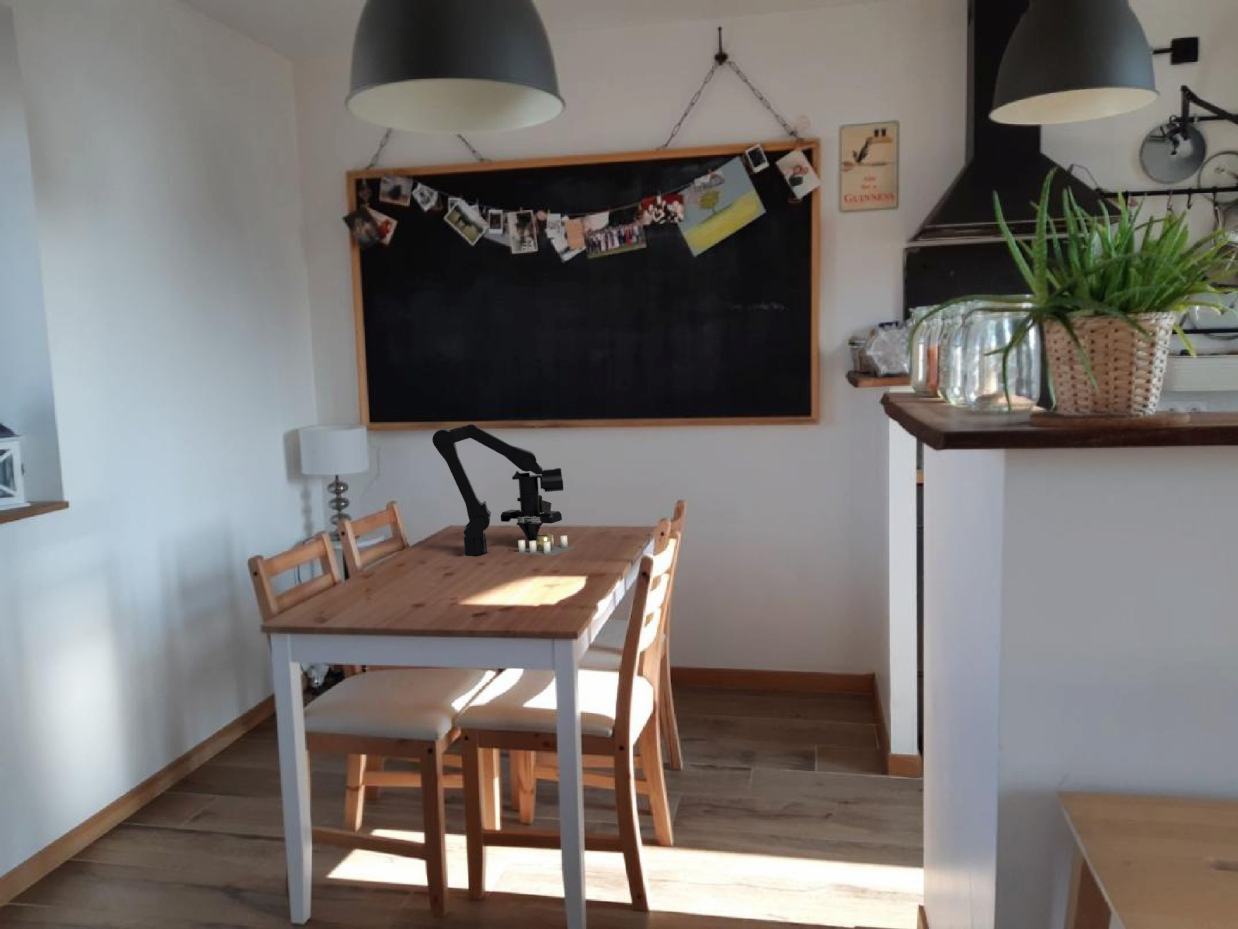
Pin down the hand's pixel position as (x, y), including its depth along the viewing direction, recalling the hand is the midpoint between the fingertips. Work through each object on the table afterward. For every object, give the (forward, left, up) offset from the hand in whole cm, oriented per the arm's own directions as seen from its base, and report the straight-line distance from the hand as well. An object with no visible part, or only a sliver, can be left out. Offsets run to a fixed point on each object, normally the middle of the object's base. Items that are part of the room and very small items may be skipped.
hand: (532, 544), depth 284 cm
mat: (0, -4, -2) cm, 5 cm away
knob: (0, -4, -1) cm, 4 cm away
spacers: (0, -3, -1) cm, 4 cm away
